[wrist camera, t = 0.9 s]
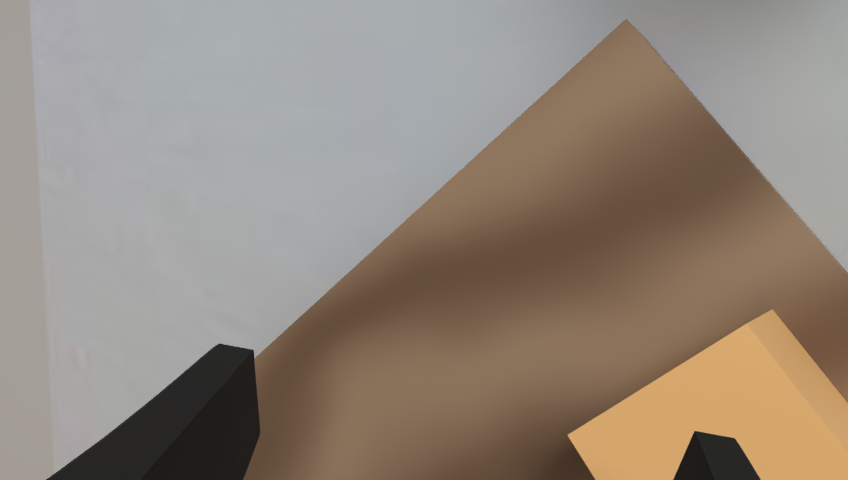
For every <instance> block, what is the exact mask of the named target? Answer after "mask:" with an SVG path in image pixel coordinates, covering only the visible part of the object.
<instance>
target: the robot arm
mask: <svg viewBox="0 0 848 480" xmlns="http://www.w3.org/2000/svg"><path fill="white" fill-rule="evenodd" d="M259 436H260V421H259V409H258V398H257V386H256V374H255V362H254V351H253V350H251V349H245V348H240V347H234V346H229V345H223V344H218V345H216V346H215V347H213V348H212V349H211V350H210V351H209V352H207V353H206V354H205V355H204V356H203V357H201V358H200V359H199V360H198V361H197V362H196V363H194V364H193V365H192V366H191V367H190V368H189V369H187V370H186V371H185V372H184V373H183V374H181V375H180V376H179V377H178V378H177V379H176V380H174V381H173V382H172V383H171V384H170V385H168V386H167V387H166V388H165V389H164V390H162V391H161V392H160V393H159V394H158V395H156V396H155V397H154V398H153V399H152V400H150V401H149V402H148V403H147V404H145V405H144V406H143V407H142V408H140V409H139V410H138V411H137V412H135V413H134V414H133V415H132V416H130V417H129V418H128V419H127V420H125V421H124V422H123V423H122V424H120V425H119V426H118V427H117V428H115V429H114V430H113V431H112V432H110V433H109V434H108V435H107V436H105V437H104V438H103V439H101V440H100V441H99V442H97V443H96V444H95V445H93V446H92V447H90V448H89V449H88V450H86V451H85V452H84V453H82V454H81V455H80V456H78V457H77V458H75V459H74V460H73V461H71V462H70V463H69V464H67V465H66V466H65V467H63V468H62V469H60V470H59V471H58V472H56V473H55V474H53V475H52V476H51V477H49V478H48V479H46V480H243V479H244V476H245V474H246V471H247V468H248V466H249V463H250V461H251V458H252V455H253V452H254V450H255V447H256V444H257V441H258V439H259ZM673 480H761V479H760V477H759V476H758V474H757V472H756V471H755V469H754V468H753V466H752V464H751V463H750V461H749V459H748V458H747V456H746V454H745V453H744V451H743V450H742V448H741V446H740V445H739V443H738V442H737V441H736V439H735V438H731V437H726V436H720V435H715V434H709V433H704V432H698V431H694V433H693V435H692V438H691V440H690V442H689V445H688V447H687V449H686V452H685V454H684V456H683V458H682V461H681V463H680V465H679V468H678V470H677V472H676V474H675V477H674V479H673Z"/></svg>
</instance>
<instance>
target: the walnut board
mask: <svg viewBox="0 0 848 480" xmlns="http://www.w3.org/2000/svg"><path fill="white" fill-rule="evenodd" d="M772 309H773V310H774V312H775V313H776V314H777V315H778V317H779V318H780V319H781V320H782V322H783V323H784V324H785V325H786V327H787V328H788V329H789V330H790V332H791V333H792V334H793V335H794V337H795V338H796V339H797V340H798V342H799V343H800V344H801V345H802V347H803V348H804V349H805V350H806V352H807V353H808V354H809V355H810V357H811V358H812V359H813V360H814V362H815V363H816V364H817V365H818V367H819V368H820V369H821V370H822V372H823V373H824V374H825V375H826V377H827V378H828V379H829V380H830V382H831V383H832V384H833V385H834V387H835V388H836V389H837V390H838V392H839V393H840V394H841V395H842V397H843V398H844V399H845V400H846V402H847V403H848V273H847V272H846V271H845V270H844V268H843V267H842V266H841V265H840V264H839V263H838V261H837V260H836V259H835V258H834V257H833V256H832V255H831V253H830V252H829V251H828V250H827V249H826V248H825V246H824V245H823V244H822V243H821V242H820V241H819V239H818V238H817V237H816V236H815V235H814V234H813V233H812V231H811V230H810V229H809V228H808V227H807V226H806V224H805V223H804V222H803V221H802V220H801V219H800V217H799V216H798V215H797V214H796V213H795V212H794V211H793V209H792V208H791V207H790V206H789V205H788V204H787V202H786V201H785V200H784V199H783V198H782V197H781V195H780V194H779V193H778V192H777V191H776V190H775V189H774V187H773V186H772V185H771V184H770V183H769V182H768V180H767V179H766V178H765V177H764V176H763V175H762V173H761V172H760V171H759V170H758V169H757V168H756V167H755V165H754V164H753V163H752V162H751V161H750V160H749V158H748V157H747V156H746V155H745V154H744V153H743V151H742V150H741V149H740V148H739V147H738V146H737V145H736V143H735V142H734V141H733V140H732V139H731V138H730V136H729V135H728V134H727V133H726V132H725V131H724V129H723V128H722V127H721V126H720V125H719V124H718V123H717V121H716V120H715V119H714V118H713V117H712V116H711V114H710V113H709V112H708V111H707V110H706V109H705V107H704V106H703V105H702V104H701V103H700V102H699V101H698V99H697V98H696V97H695V96H694V95H693V94H692V92H691V91H690V90H689V89H688V88H687V87H686V85H685V84H684V83H683V82H682V81H681V80H680V79H679V77H678V76H677V75H676V74H675V73H674V72H673V70H672V69H671V68H670V67H669V66H668V65H667V63H666V62H665V61H664V60H663V59H662V58H661V57H660V55H659V54H658V53H657V52H656V51H655V50H654V48H653V47H652V46H651V45H650V44H649V43H648V41H647V40H646V39H645V38H644V37H643V36H642V35H641V33H640V32H639V31H638V30H637V29H636V28H635V27H634V26H633V25H632V24H631V23H630V22H629V21H628V20H627V19H626V20H625V21H623V22H622V23H621V24H620V25H619V26H618V27H617V28H616V29H615V30H614V31H613V32H611V33H610V34H609V35H608V36H607V37H606V38H605V39H604V40H603V41H602V42H601V43H599V44H598V45H597V46H596V47H595V48H594V49H593V50H592V51H591V52H590V53H588V54H587V55H586V56H585V57H584V58H583V59H582V60H581V61H580V62H579V63H578V64H576V65H575V66H574V67H573V68H572V69H571V70H570V71H569V72H568V73H567V74H566V75H564V76H563V77H562V78H561V79H560V80H559V81H558V82H557V83H556V84H555V85H553V86H552V87H551V88H550V89H549V90H548V91H547V92H546V93H545V94H544V95H543V96H541V97H540V98H539V99H538V100H537V101H536V102H535V103H534V104H533V105H532V106H531V107H529V108H528V109H527V110H526V111H525V112H524V113H523V114H522V115H521V116H520V117H518V118H517V119H516V120H515V121H514V122H513V123H512V124H511V125H510V126H509V127H508V128H506V129H505V130H504V131H503V132H502V133H501V134H500V135H499V136H498V137H497V138H495V139H494V140H493V141H492V142H491V143H490V144H489V145H488V146H487V147H486V148H485V149H483V150H482V151H481V152H480V153H479V154H478V155H477V156H476V157H475V158H474V159H473V160H471V161H470V162H469V163H468V164H467V165H466V166H465V167H464V168H463V169H462V170H460V171H459V172H458V173H457V174H456V175H455V176H454V177H453V178H452V179H451V180H450V181H448V182H447V183H446V184H445V185H444V186H443V187H442V188H441V189H440V190H439V191H438V192H436V193H435V194H434V195H433V196H432V197H431V198H430V199H429V200H428V201H427V202H425V203H424V204H423V205H422V206H421V207H420V208H419V209H418V210H417V211H416V212H415V213H413V214H412V215H411V216H410V217H409V218H408V219H407V220H406V221H405V222H404V223H403V224H401V225H400V226H399V227H398V228H397V229H396V230H395V231H394V232H393V233H392V234H390V235H389V236H388V237H387V238H386V239H385V240H384V241H383V242H382V243H381V244H380V245H378V246H377V247H376V248H375V249H374V250H373V251H372V252H371V253H370V254H369V255H368V256H366V257H365V258H364V259H363V260H362V261H361V262H360V263H359V264H358V265H357V266H355V267H354V268H353V269H352V270H351V271H350V272H349V273H348V274H347V275H346V276H345V277H343V278H342V279H341V280H340V281H339V282H338V283H337V284H336V285H335V286H334V287H333V288H331V289H330V290H329V291H328V292H327V293H326V294H325V295H324V296H323V297H322V298H320V299H319V300H318V301H317V302H316V303H315V304H314V305H313V306H312V307H311V308H310V309H308V310H307V311H306V312H305V313H304V314H303V315H302V316H301V317H300V318H299V319H298V320H296V321H295V322H294V323H293V324H292V325H291V326H290V327H289V328H288V329H287V330H285V331H284V332H283V333H282V334H281V335H280V336H279V337H278V338H277V339H276V340H275V341H273V342H272V343H271V344H270V345H269V346H268V347H267V348H266V349H265V350H264V351H262V352H261V353H260V354H259V355H258V356H257V357H256V358H255V359H254V362H255V374H256V386H257V398H258V409H259V421H260V436H259V439H258V441H257V444H256V447H255V450H254V452H253V455H252V458H251V461H250V463H249V466H248V468H247V471H246V474H245V476H244V479H243V480H595V478H594V477H593V475H592V473H591V472H590V470H589V469H588V467H587V465H586V464H585V462H584V461H583V459H582V458H581V456H580V454H579V453H578V451H577V450H576V448H575V446H574V445H573V443H572V442H571V440H570V438H569V437H568V434H570V433H571V432H573V431H575V430H576V429H578V428H579V427H581V426H583V425H584V424H586V423H587V422H589V421H591V420H592V419H594V418H595V417H597V416H599V415H600V414H602V413H604V412H605V411H607V410H608V409H610V408H612V407H613V406H615V405H616V404H618V403H620V402H621V401H623V400H624V399H626V398H628V397H629V396H631V395H632V394H634V393H636V392H637V391H639V390H640V389H642V388H644V387H645V386H647V385H649V384H650V383H652V382H653V381H655V380H657V379H658V378H660V377H661V376H663V375H665V374H666V373H668V372H669V371H671V370H673V369H674V368H676V367H677V366H679V365H681V364H682V363H684V362H685V361H687V360H689V359H690V358H692V357H694V356H695V355H697V354H698V353H700V352H702V351H703V350H705V349H706V348H708V347H710V346H711V345H713V344H714V343H716V342H718V341H719V340H721V339H722V338H724V337H726V336H727V335H729V334H730V333H732V332H734V331H735V330H737V329H738V328H740V327H742V326H743V325H745V324H747V323H748V322H750V321H752V320H754V319H756V318H757V317H759V316H761V315H763V314H765V313H766V312H768V311H770V310H772Z"/></svg>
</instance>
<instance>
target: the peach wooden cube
mask: <svg viewBox="0 0 848 480" xmlns="http://www.w3.org/2000/svg"><path fill="white" fill-rule="evenodd" d="M694 431H698V432H704V433H709V434H715V435H720V436H726V437H731V438H735V439H736V441H737V442H738V443H739V445H740V446H741V448H742V450H743V451H744V453H745V454H746V456H747V458H748V459H749V461H750V463H751V464H752V466H753V468H754V469H755V471H756V472H757V474H758V476H759V477H760V479H761V480H848V403H847V402H846V400H845V399H844V398H843V397H842V395H841V394H840V393H839V392H838V390H837V389H836V388H835V387H834V385H833V384H832V383H831V382H830V380H829V379H828V378H827V377H826V375H825V374H824V373H823V372H822V370H821V369H820V368H819V367H818V365H817V364H816V363H815V362H814V360H813V359H812V358H811V357H810V355H809V354H808V353H807V352H806V350H805V349H804V348H803V347H802V345H801V344H800V343H799V342H798V340H797V339H796V338H795V337H794V335H793V334H792V333H791V332H790V330H789V329H788V328H787V327H786V325H785V324H784V323H783V322H782V320H781V319H780V318H779V317H778V315H777V314H776V313H775V312H774V310H773V309H772V310H770V311H768V312H766V313H765V314H763V315H761V316H759V317H757V318H756V319H754V320H752V321H750V322H748V323H747V324H745V325H743V326H742V327H740V328H738V329H737V330H735V331H734V332H732V333H730V334H729V335H727V336H726V337H724V338H722V339H721V340H719V341H718V342H716V343H714V344H713V345H711V346H710V347H708V348H706V349H705V350H703V351H702V352H700V353H698V354H697V355H695V356H694V357H692V358H690V359H689V360H687V361H685V362H684V363H682V364H681V365H679V366H677V367H676V368H674V369H673V370H671V371H669V372H668V373H666V374H665V375H663V376H661V377H660V378H658V379H657V380H655V381H653V382H652V383H650V384H649V385H647V386H645V387H644V388H642V389H640V390H639V391H637V392H636V393H634V394H632V395H631V396H629V397H628V398H626V399H624V400H623V401H621V402H620V403H618V404H616V405H615V406H613V407H612V408H610V409H608V410H607V411H605V412H604V413H602V414H600V415H599V416H597V417H595V418H594V419H592V420H591V421H589V422H587V423H586V424H584V425H583V426H581V427H579V428H578V429H576V430H575V431H573V432H571V433H570V434H568V437H569V438H570V440H571V442H572V443H573V445H574V446H575V448H576V450H577V451H578V453H579V454H580V456H581V458H582V459H583V461H584V462H585V464H586V465H587V467H588V469H589V470H590V472H591V473H592V475H593V477H594V478H595V480H673V479H674V477H675V474H676V472H677V470H678V468H679V465H680V463H681V461H682V458H683V456H684V454H685V452H686V449H687V447H688V445H689V442H690V440H691V438H692V435H693V433H694Z"/></svg>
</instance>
